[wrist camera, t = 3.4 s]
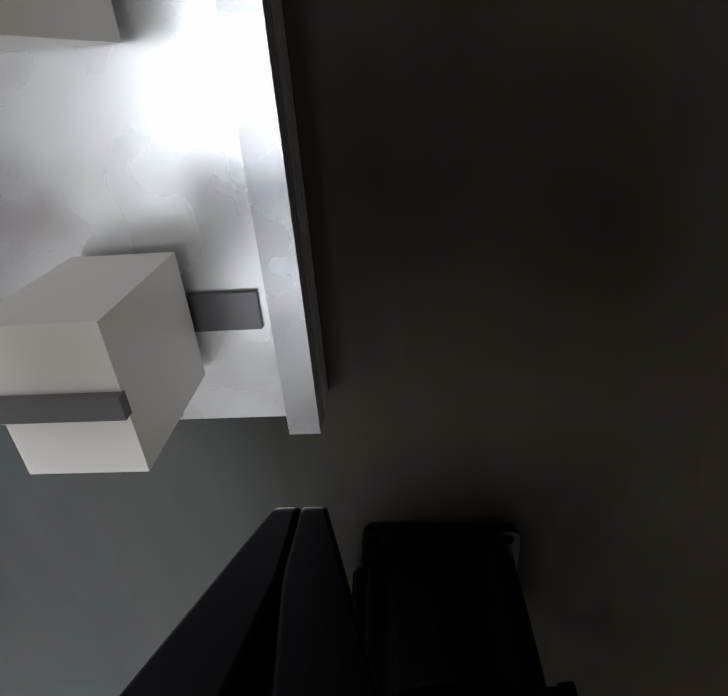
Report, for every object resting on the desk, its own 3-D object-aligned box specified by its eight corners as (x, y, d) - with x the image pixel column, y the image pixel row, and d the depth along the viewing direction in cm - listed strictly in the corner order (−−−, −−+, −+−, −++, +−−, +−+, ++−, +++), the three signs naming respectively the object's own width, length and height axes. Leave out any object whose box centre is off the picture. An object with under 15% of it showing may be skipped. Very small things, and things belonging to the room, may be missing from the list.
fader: (176, 251, 14) (93, 327, 10) (207, 374, 16) (147, 478, 12) (68, 257, 15) (-54, 333, 10) (112, 377, 16) (22, 481, 12)
